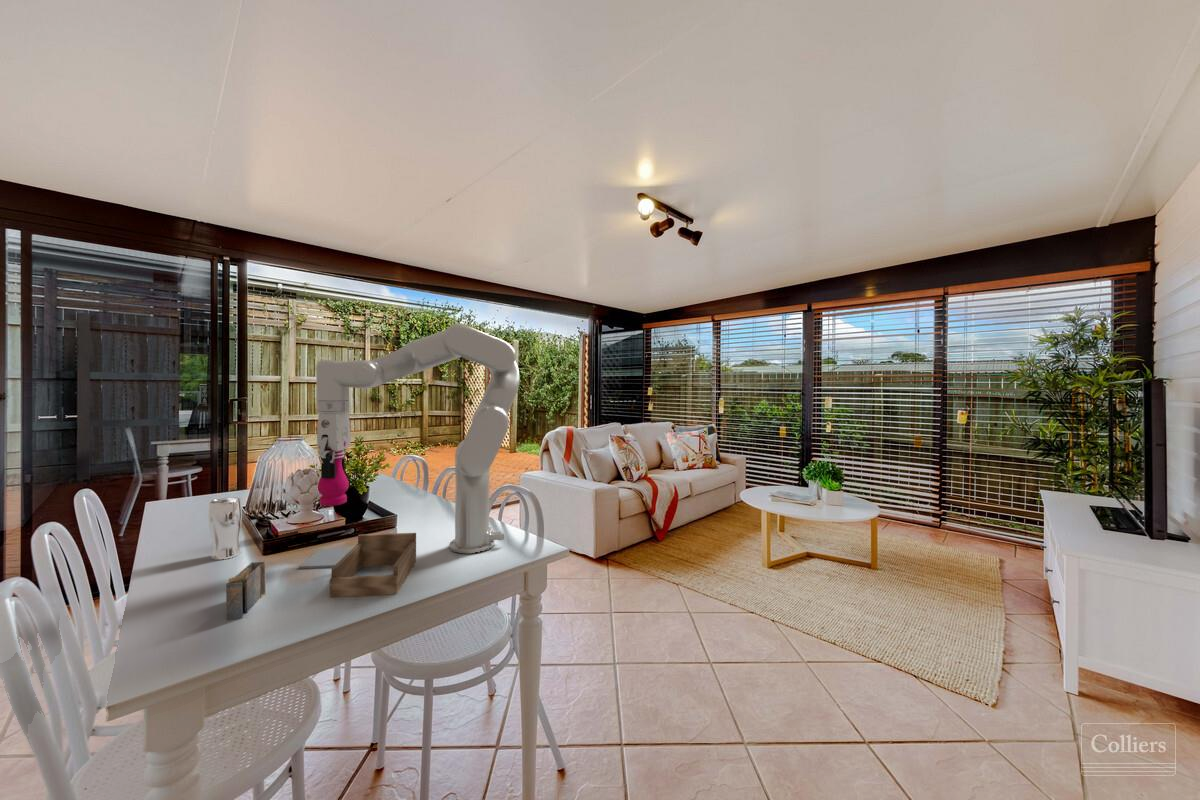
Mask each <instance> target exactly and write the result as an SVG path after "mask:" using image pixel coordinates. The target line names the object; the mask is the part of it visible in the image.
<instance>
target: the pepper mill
mask: <svg viewBox="0 0 1200 800" xmlns="http://www.w3.org/2000/svg"><path fill="white" fill-rule="evenodd" d="M345 446H346V441H344V447H345ZM326 451H332V449H326ZM327 454H329V455H330V457H331V453H327ZM342 457H344V452H343V451H342V450H341V451H338V452H336V451H335V457H334V463H336V477H335V478H322V477H321V476H320V478H319V480H318V483H317V485H318V488H317V489H318V492H319V493H320V494H321V496H320V506H324V507H329V506H330V507H333V506H339V505H343V504H346V502H348V500H347V499H348V496H347V493H346V492H347V491H348V489H349V487H350V485H349V480H348V478H347V475H346V474H345V473H344V471H343V468H342Z"/></svg>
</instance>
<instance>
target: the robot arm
mask: <svg viewBox="0 0 1200 800" xmlns="http://www.w3.org/2000/svg"><path fill="white" fill-rule="evenodd" d="M516 355H517V354H516V351H515V348H514V347H513V346H512V345H511V343H509V342H507V341H505V340H504V339H501V338H498V337H496V336H493V335H491V334H488V333H486V332H483V331H482V330H478V329H477V328H474V327H472V326H469V325H467V324H464V323H454V324H451V325H450V326H449V327H447V328H446V329H444V330H441V331H438V332H436V333H433V334H430V335H426V336H424V337H421V338H417V339H413V340H411V341H409V342H407V343H406V344H404V345H403V346H401V348H399V349H397V350H394V351H391V352H390V353H387V354H385V355H382V356H379V357H376V358H373V359H370V360H365V359H362V360H360V359H359V360H350V361H349V360H348V361H345V360H335V359H331V360H328V359H322V360H319V361H317V364H316V369H315V370H316V374H315V375H316V379H315V380H316V383H315V384H316V414H318V418H317V419H318V420H317V432H316V444H317V446H316V447H317V450H318V455H319V458H320V464H321V466H320V467H321V476H320V478H321V477H322V478H335V477H336V463H334V457H335V451H336V452H338V451H341V450H342V451H343V452H344V457H342V468H343V471H344V473H345V472H346V469H345V468H346V460H345V459H346V451H347V449H348V448H349V447H351V445H352V443H351V440H352V439H351V423H350V416H349V413H350V388H354V389H361V390H362V389H363V390H367V389H373V388H376V387H379V386H381V385H384V384H387V383H390V382H392V381H395V380H398V379H401V378H403V377H406V376H409V375H413V374H418V373H421V372H423V371H426V370H429V369H431V368H434V367H437V366H440V365H442V364H445V363H446V364H447V363H449V362H452V361H453V360H456V359H459V358H464V359H466V360H469V361H471V362H473V363H476V364H479V365H481V366H484V367H486V368H487V369H488V370H489V373H490V374H489V376H490V379H489V382H488V384H487V387H486V389H485V392H484V394H483V396H482V398H481V400H480V402H479V404H478V406H477V408H476V409H475V411H474V413H473V415H472V421H471V424H470V427H469V429H468V431H467V433H466V435H465V437H464V439H463V440H462V441H460V442H459V443H458V444H457V447H456V449H455V452H454V453H455V454H454V464H455V468H454V469H455V470H454V471H455V472H454V473H455V479H454V481H455V492H454V493H455V495H454V496H455V497H454V499H455V500H454V501H455V502H454V503H455V505H454V509H455V511H454V513H455V514H454V515H455V516H454V518H455V519H454V539H453V540H451V541H450V542H449V544H448V545H449V547H448V548H449V549H450V551H452V552H454V553H457V552H458V554H475V552H478V553H481V552H480V551H483V552H485V551H484V550H486V549H488V550H490V549H492V548H493V547H494V546H495V541H505V537H506V536H505V533H502V532H501V531H493V530H492V527H491V526H490V489H491V488H490V468H491V467H492V465H493V463H494V461H495V460H496V457H497V455H498V452H499V450H500V449H501V447H502V445H503V441H504V439H505V438H506V435H507V433H508V429H509V424H510V423H509V422H510V421H509V416H508V415H509V413H510V410H511V408H512V405H513V403H514V401H515V398H516V396H517V393H518V390H519V387H520V381H521V380H520V379H521V378H520V371H519V366H518V364H517V361H516ZM344 441H346V446H345V447H344ZM326 449H332V451H326ZM327 453H331V457H330V455H329V454H327ZM493 545H494V546H493ZM492 546H493V547H492ZM491 547H492V548H491ZM489 548H490V549H489ZM486 551H487V550H486Z"/></svg>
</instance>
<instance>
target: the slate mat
mask: <svg viewBox="0 0 1200 800" xmlns="http://www.w3.org/2000/svg"><path fill="white" fill-rule="evenodd" d="M353 548H354V547H345V548H320V549H318V550H317V551H316V552H314V553H313V554H312V555H311V556H310V557H308V559H306V560H305V561H304V562H303V563H301V564H300V565H298V569H299V570H300V569H302V570H303V569H325V568H331V569H332V568H333V567H334V566H335V565H336V564H337V563H338V562H339V561H340V560H341V559H342V558H343V557H344V556H345V555H346V554H347V553H348V552H350V551H351V550H352V549H353Z"/></svg>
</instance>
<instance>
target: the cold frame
mask: <svg viewBox="0 0 1200 800" xmlns="http://www.w3.org/2000/svg"><path fill="white" fill-rule="evenodd" d="M352 548H353V549H352V550H351V551H350V552H348V553H347V554H346V555H345V556H344V557H343V558H342V559H341V560H340V561H339V562H338V563H337V564H336V565H335V566H334V567H331V577H330V579H329V598H340V597H344V596H346V597H361V596H362V597H363V596H364V595H367V596H383V595H384V596H387V594H388V595H397V594H398V593H399V591H400V590H401V588H402V586H403V585H402V584H404V583H405V582H406V580H407V578H408V577H407V576H409V575H410V573H411V572H412V571H413V569H412V568H414V567H415V565H416V564H417V532H398V533H397V532H395V533H366V534H365V533H362V534H361V533H360V534H358V535H357V543H356V545H354V547H352ZM415 563H416V564H415ZM376 566H377V567H378V566H381V567H382V566H392V574H389V575H388V574H387V575H386V574H385V575H360V576H355V575H356V574H357V571H360V569H361V568H362V567H376ZM410 571H411V572H410ZM405 579H406V580H405ZM385 594H386V595H385Z"/></svg>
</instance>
